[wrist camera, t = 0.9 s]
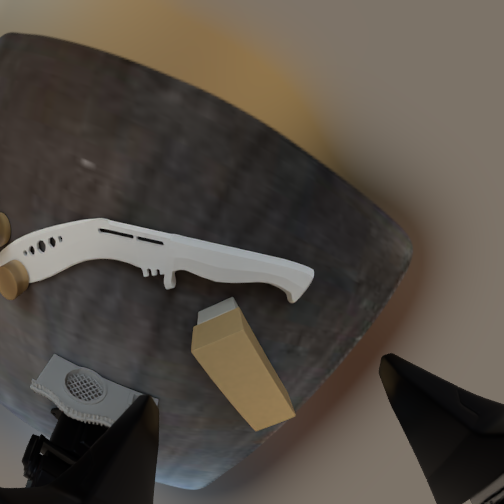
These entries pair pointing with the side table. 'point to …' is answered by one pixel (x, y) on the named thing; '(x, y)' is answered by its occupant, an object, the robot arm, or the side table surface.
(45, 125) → the side table surface
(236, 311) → the oblong tan box
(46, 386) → the garden wall model
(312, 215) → the side table surface
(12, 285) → the tan squat cylinder
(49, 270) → the knife
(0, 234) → the short tan cylinder
